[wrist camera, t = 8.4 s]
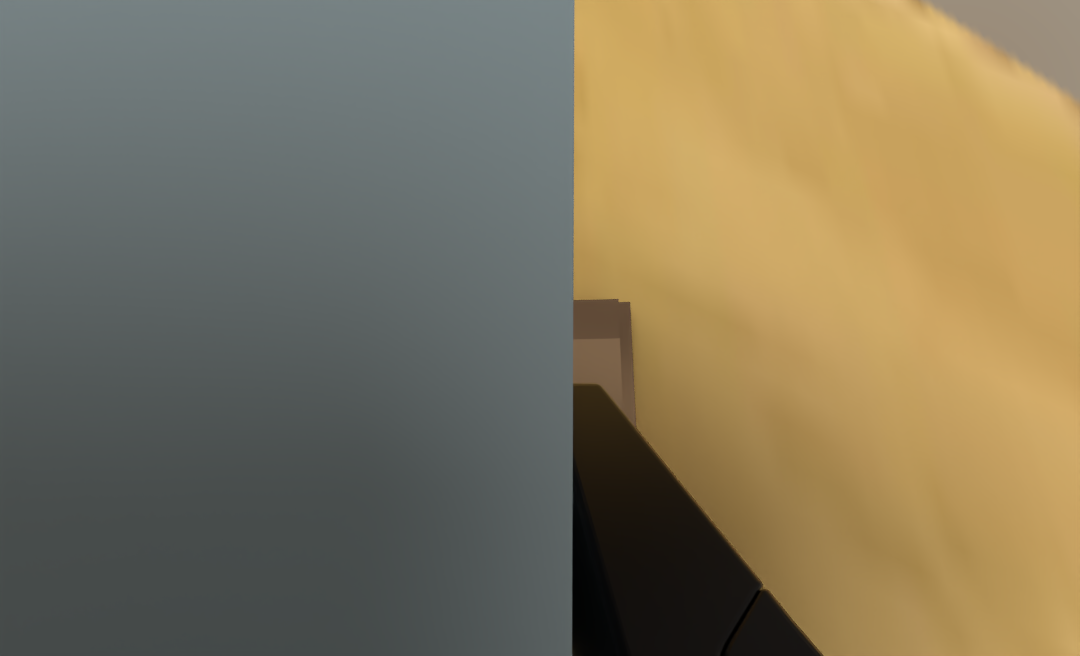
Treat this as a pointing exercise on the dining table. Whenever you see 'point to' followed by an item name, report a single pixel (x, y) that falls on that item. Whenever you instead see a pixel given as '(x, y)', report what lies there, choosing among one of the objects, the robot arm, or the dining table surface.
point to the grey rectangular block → (286, 327)
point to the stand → (605, 349)
